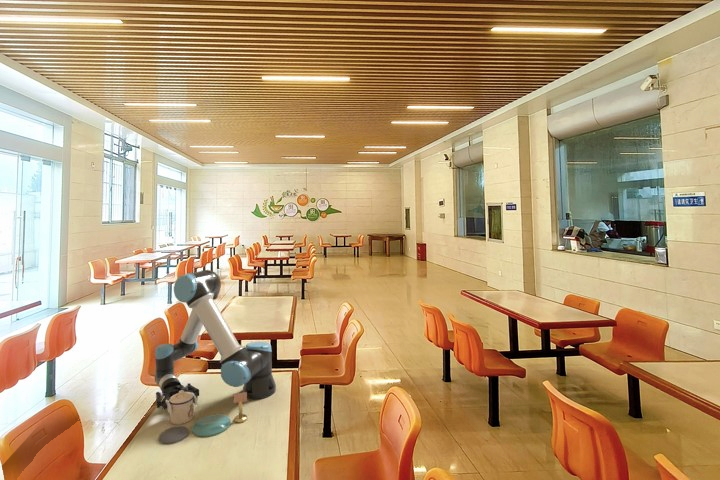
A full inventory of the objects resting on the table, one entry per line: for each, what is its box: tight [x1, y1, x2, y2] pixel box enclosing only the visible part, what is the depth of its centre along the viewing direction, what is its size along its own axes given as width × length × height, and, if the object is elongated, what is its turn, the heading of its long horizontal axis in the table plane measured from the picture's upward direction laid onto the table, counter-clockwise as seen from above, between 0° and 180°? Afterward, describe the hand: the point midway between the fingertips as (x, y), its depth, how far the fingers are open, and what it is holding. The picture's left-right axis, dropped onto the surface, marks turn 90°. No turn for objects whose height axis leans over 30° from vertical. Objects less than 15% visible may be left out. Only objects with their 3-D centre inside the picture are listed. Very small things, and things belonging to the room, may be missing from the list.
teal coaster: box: [191, 414, 231, 438], centre depth 143 cm, size 14×14×1 cm
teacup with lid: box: [168, 390, 195, 425], centre depth 149 cm, size 12×9×12 cm
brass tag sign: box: [233, 391, 248, 424], centre depth 148 cm, size 5×5×11 cm
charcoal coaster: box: [158, 425, 190, 445], centre depth 137 cm, size 10×10×1 cm
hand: (183, 405), depth 146 cm, fingers closed on teacup with lid, 9 cm apart
